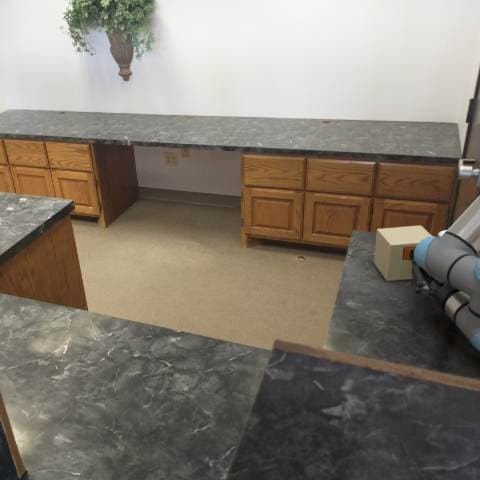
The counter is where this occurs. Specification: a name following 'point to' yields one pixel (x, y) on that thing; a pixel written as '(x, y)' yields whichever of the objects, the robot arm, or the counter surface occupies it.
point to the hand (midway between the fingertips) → (413, 253)
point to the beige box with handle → (396, 250)
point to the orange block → (407, 252)
